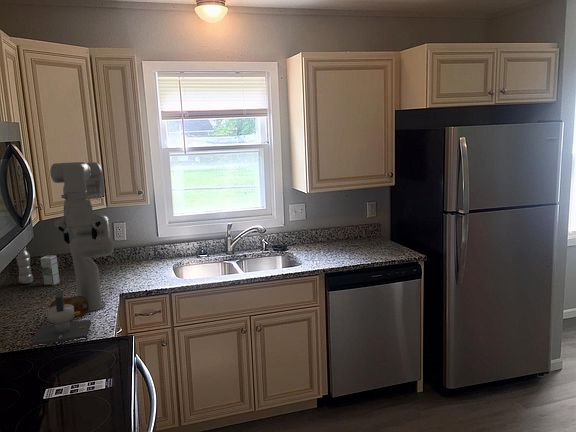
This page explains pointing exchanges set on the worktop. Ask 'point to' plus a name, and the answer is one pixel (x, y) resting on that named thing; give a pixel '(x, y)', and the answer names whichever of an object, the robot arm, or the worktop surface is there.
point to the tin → (76, 304)
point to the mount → (62, 332)
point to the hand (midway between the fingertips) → (81, 241)
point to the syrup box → (50, 270)
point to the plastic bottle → (24, 267)
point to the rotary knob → (61, 310)
